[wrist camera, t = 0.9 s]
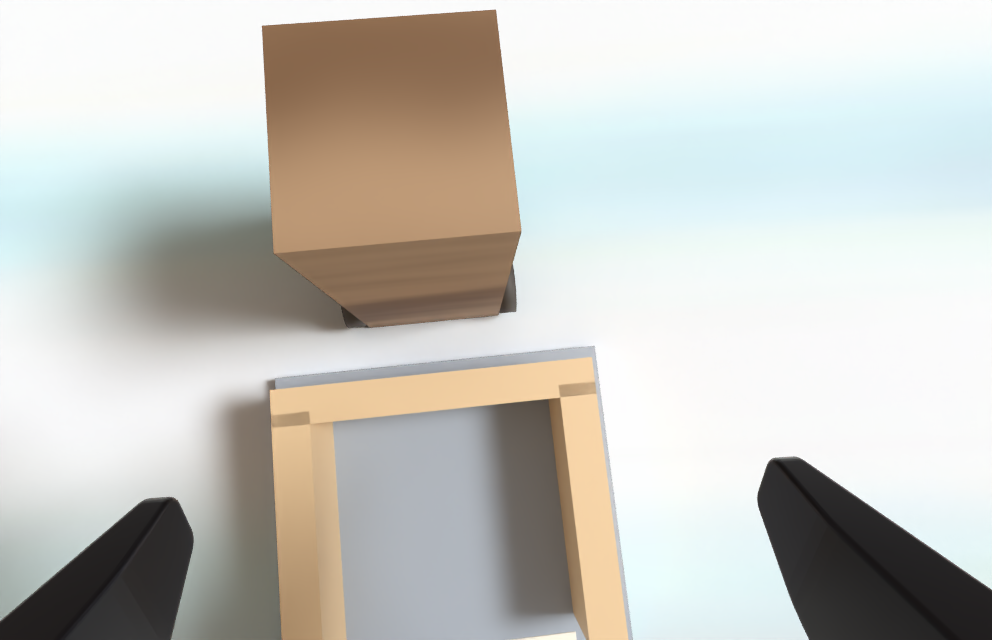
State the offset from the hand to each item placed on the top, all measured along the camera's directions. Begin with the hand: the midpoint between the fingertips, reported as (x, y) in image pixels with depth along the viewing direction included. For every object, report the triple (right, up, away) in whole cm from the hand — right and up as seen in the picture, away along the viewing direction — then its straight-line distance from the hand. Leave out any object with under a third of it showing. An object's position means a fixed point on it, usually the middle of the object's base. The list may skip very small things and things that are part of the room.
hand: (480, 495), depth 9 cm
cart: (-2, +5, +14) cm, 15 cm away
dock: (-1, -4, +13) cm, 13 cm away
